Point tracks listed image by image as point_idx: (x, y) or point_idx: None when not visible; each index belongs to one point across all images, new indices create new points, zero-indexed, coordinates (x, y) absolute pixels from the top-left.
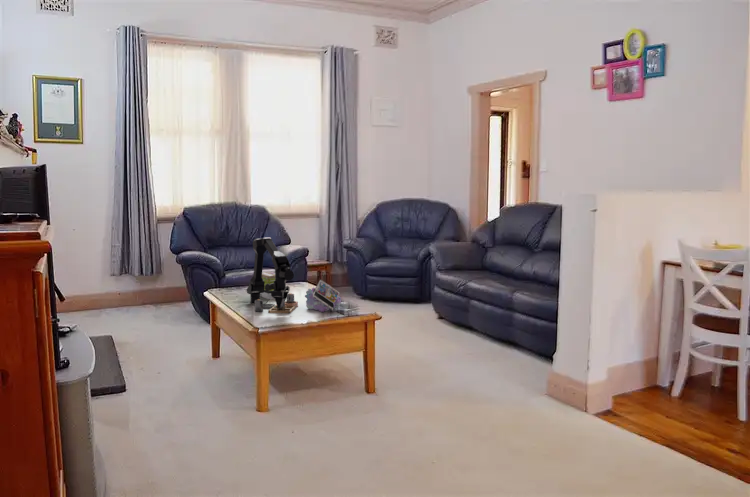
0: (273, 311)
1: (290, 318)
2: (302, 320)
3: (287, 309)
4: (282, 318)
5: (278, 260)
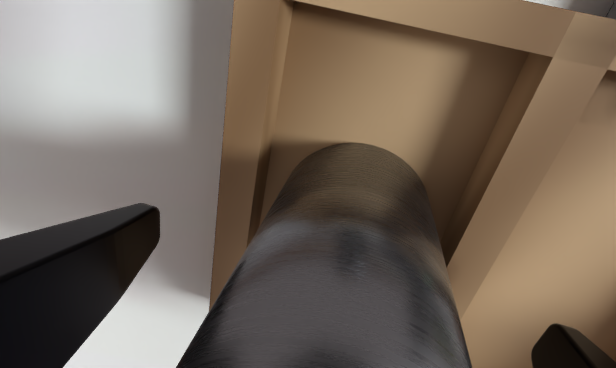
0: (233, 82)
1: None
2: None
3: None
4: (20, 197)
5: None
